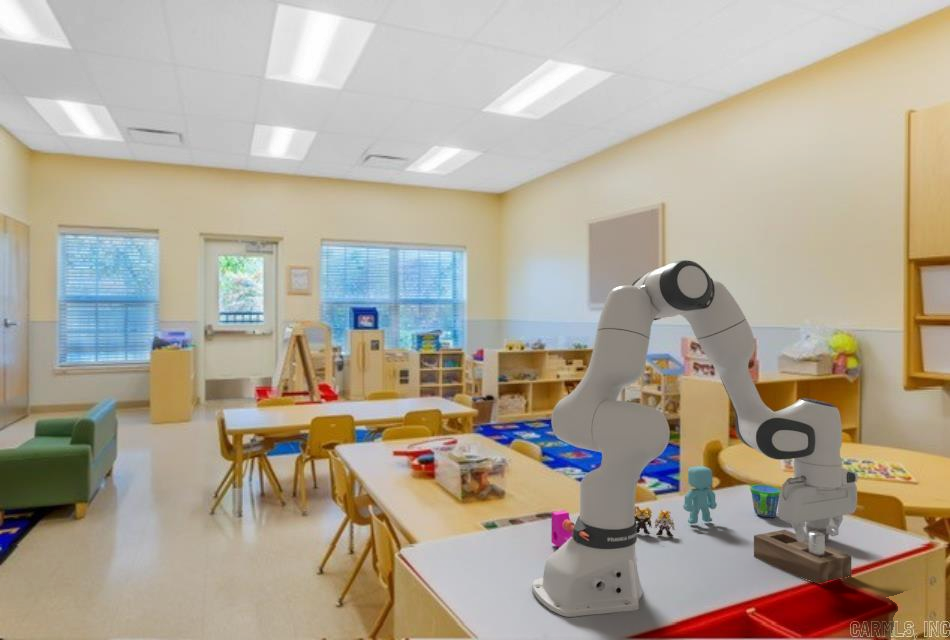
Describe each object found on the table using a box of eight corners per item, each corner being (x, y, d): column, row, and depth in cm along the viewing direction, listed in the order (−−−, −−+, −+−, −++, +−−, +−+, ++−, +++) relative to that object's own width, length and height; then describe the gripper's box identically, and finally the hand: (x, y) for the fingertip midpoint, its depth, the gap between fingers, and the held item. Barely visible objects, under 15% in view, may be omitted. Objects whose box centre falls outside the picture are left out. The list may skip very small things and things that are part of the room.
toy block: (610, 561, 127) (610, 529, 127) (587, 566, 124) (587, 533, 124) (572, 538, 141) (572, 508, 141) (551, 542, 138) (551, 512, 138)
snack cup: (776, 523, 151) (776, 495, 151) (745, 516, 156) (745, 490, 156) (784, 512, 160) (784, 486, 160) (755, 506, 165) (755, 481, 165)
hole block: (818, 587, 115) (818, 563, 115) (753, 556, 129) (753, 535, 129) (851, 579, 118) (851, 556, 118) (784, 550, 133) (784, 529, 133)
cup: (839, 544, 137) (839, 496, 137) (812, 544, 137) (812, 495, 137) (822, 533, 144) (822, 487, 144) (796, 533, 144) (796, 487, 144)
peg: (818, 579, 118) (818, 537, 118) (805, 573, 121) (805, 532, 121) (827, 576, 119) (828, 535, 119) (814, 571, 122) (814, 530, 122)
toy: (708, 517, 155) (708, 463, 155) (721, 523, 151) (721, 468, 151) (679, 520, 153) (679, 466, 153) (690, 527, 148) (691, 471, 148)
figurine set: (609, 526, 149) (609, 501, 149) (674, 532, 145) (674, 507, 145) (609, 530, 146) (609, 506, 146) (675, 537, 141) (675, 512, 141)
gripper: (796, 483, 113) (796, 550, 113) (863, 473, 121) (863, 536, 121) (770, 475, 119) (769, 539, 119) (835, 466, 127) (834, 526, 127)
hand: (817, 538), depth 120 cm, fingers open, 8 cm apart
